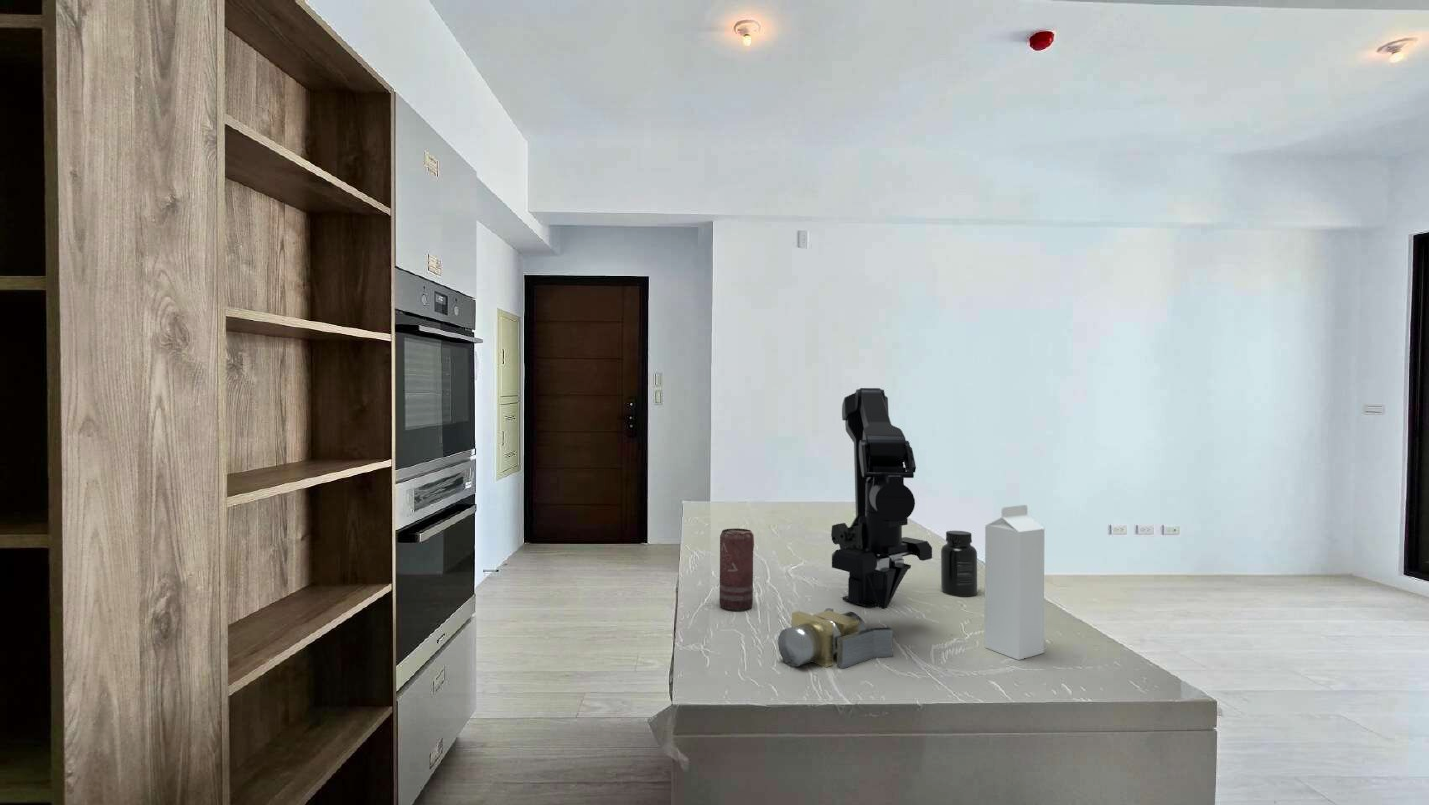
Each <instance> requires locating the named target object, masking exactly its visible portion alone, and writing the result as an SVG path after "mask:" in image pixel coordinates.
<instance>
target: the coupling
mask: <svg viewBox="0 0 1429 805" xmlns="http://www.w3.org/2000/svg"><path fill="white" fill-rule="evenodd" d="M828 610H829V611H833V612H834V608H828V607H827V608H826V609H825V610H823V612H825V611H828ZM813 615H814V614H813ZM813 615H812V614H809V613H807V612H804V611H801V610H798V611H795V612H791V627H788V628H784V629H781V631H780V633H779V635H778V639H777V646H778V651H779V653H780V656H781V658H782V660H783V661H784V662H785V663H786V664H787V665H788V666H790V667H799V666H802V665H805V664H808V663H811V662H812V663H814V664H817V665H819V666H822V667H824V668H829V667H830V666H834V657H833V647H834V623H833V622H830V621H827V620H824V619H821V618H818V617H816V616H813ZM889 657H893V629H892V628H891V627H871V628H866V630H862V631H859V632H856V633H853V634H849V635H846V636H843V637H840V638H837V658H836V667H837V668H840V669H843V670H844V669H846V668H848V667H851V666H855V665H858V664H859V663H863V662H865V661H868V660H871V659H873V658H874V659H876V658H889Z"/></svg>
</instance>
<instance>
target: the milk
mask: <svg viewBox="0 0 1429 805" xmlns="http://www.w3.org/2000/svg"><path fill="white" fill-rule="evenodd" d="M984 528H985V529H984V532H985V533H984V534H985V536H984V538H985V539H984V540H985V544H984V546H985V548H984V549H985V550H984V551H985V553H984V556H985V557H984V565H985V566H984V648H986V649H988V650H989V651H990V650H991V651H993V652H996V653H999V654H1001V655H1003V656H1005V657H1009V658H1011V659H1014V660H1016V661H1020V660H1024V658H1025V659H1028V658H1031V657H1035V656H1038V655H1042V654H1044V653H1045V528H1044V527H1043V526H1042V525H1041V524H1040V523H1038V522H1037V521H1036V520H1034V519H1033V518H1032V517H1031V516H1030V515H1029V514H1028V505H1026V504H1024V505H1023V504H1022V505H1021V504H1019V505H1011V506H1003V507H1002V508H1001V517H1000V518H997V519H995V520H993V521H991V522H990V523H988V524H986V525H985V527H984Z"/></svg>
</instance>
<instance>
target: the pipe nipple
mask: <svg viewBox="0 0 1429 805" xmlns="http://www.w3.org/2000/svg"><path fill="white" fill-rule="evenodd" d="M824 611H825V610H824ZM824 611H821V612H819V613H815V614H813V616H816V617H818V618H821V619H824V620H827V621H830V622H833V623H834V647H833V658H836V659H837V638H840V637H843V636H846V635H849V634H853V633H856V632H859V631H862V630H866V629H867V628H866V627H867V626H866V625H865V622H864V620H863V619H862V618H861V617H860V616H859V614H857V613H856V612H853V611H845V612H841V613H838V612H835V611H834V610H833V611H829V610H828V611H825V612H824Z"/></svg>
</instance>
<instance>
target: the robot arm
mask: <svg viewBox="0 0 1429 805" xmlns="http://www.w3.org/2000/svg"><path fill="white" fill-rule="evenodd" d="M841 418H842V421H845V422H844V424H845V427H844V428H845V431H846V433H847V435H848V436H849V438H850V439H851V441H852V442H853V454H854V455H853V456H854V457H853V460H854V491H855V492H854V496H855V497H854V500H855V518H854V519H853V521H852V522H851V525H850V526H848V525H847V524H846V523H845V522H843V523H841V522H840V523H836V524H833V525H831V531H830V532H831V533H830V535H831V541H832V543H833V545H838V546H839V549H836V550H835V551H834V552H833V553H832V554H831V568H833V569H836V570H838V571H839V570H840V571H844V572H847V573H848V581H847V582H848V586H847V590H848V591H847V592H848V594H847V595H845V596H843V597H842V600H843V601H847V602H850V603H854V604H857V605H859V606H864V607H866V608H872V607H875V606H878V608H879V609H882V610H885V609H887V608H888V607H889V605H890V604H891V601H892V599H893V597H894V595H895V594H896V592H897V590H898V587H899V586H900V584H901V582H902V580H903V579H904V577H905V576H906V574H907V572H908V570H910V569H911V567H912V565H911V564H908V563H905V559H904V558H903V557H906V556H911V555H912V556H914V557H917V558H918V560H919V561H928V560H932V559H933V547H932V545H931V544H930V543H929V542H928V540H923V539H918V538H913V537H909V536H907V537H906V536H903V531H902V530H903V526H907V525H909V524H908V519H909V517H910V516H911V515H912V513H914V510H915V505H916V499H915V496H914V494H913V492H912V491H911V489H909V487H908V486H906V485H905V483H904V481H905V480H904V479H914V477H915V474H914V473H916V469H917V466H916V461H915V455H914V451H913V448H912V446H911V445H910V443H911V442H909V440H906V437H905V434H904V433H903V431H902V429H901V428H899V427H897V426H895V425H893V424H892V422H891V418H890V416H889V398H888V396H886V394H885V389H882V388H879V387H862V388H861V387H860V388H859V389H858V388H857V389H856V390H855V392H854V393H850V394H849V395H847V396H845V397H844V398H843V401H842V404H841Z"/></svg>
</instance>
